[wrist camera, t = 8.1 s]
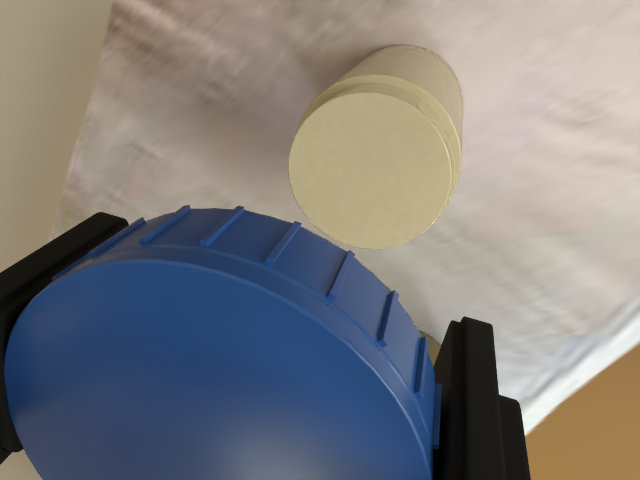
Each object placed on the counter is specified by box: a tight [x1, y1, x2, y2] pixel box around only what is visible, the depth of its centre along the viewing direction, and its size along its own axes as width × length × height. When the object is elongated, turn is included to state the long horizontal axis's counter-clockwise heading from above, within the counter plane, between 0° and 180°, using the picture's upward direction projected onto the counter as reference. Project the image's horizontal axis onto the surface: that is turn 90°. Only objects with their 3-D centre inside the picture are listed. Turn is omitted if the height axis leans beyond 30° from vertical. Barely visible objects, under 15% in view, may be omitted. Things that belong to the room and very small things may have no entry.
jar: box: [288, 45, 463, 249], centre depth 22 cm, size 6×6×11 cm
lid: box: [4, 205, 442, 480], centre depth 8 cm, size 7×7×2 cm
